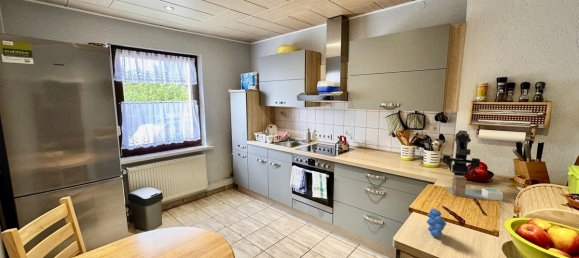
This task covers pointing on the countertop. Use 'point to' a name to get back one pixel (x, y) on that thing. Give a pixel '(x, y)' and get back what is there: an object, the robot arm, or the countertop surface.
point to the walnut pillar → (459, 186)
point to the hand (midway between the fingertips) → (459, 172)
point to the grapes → (435, 223)
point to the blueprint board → (481, 193)
